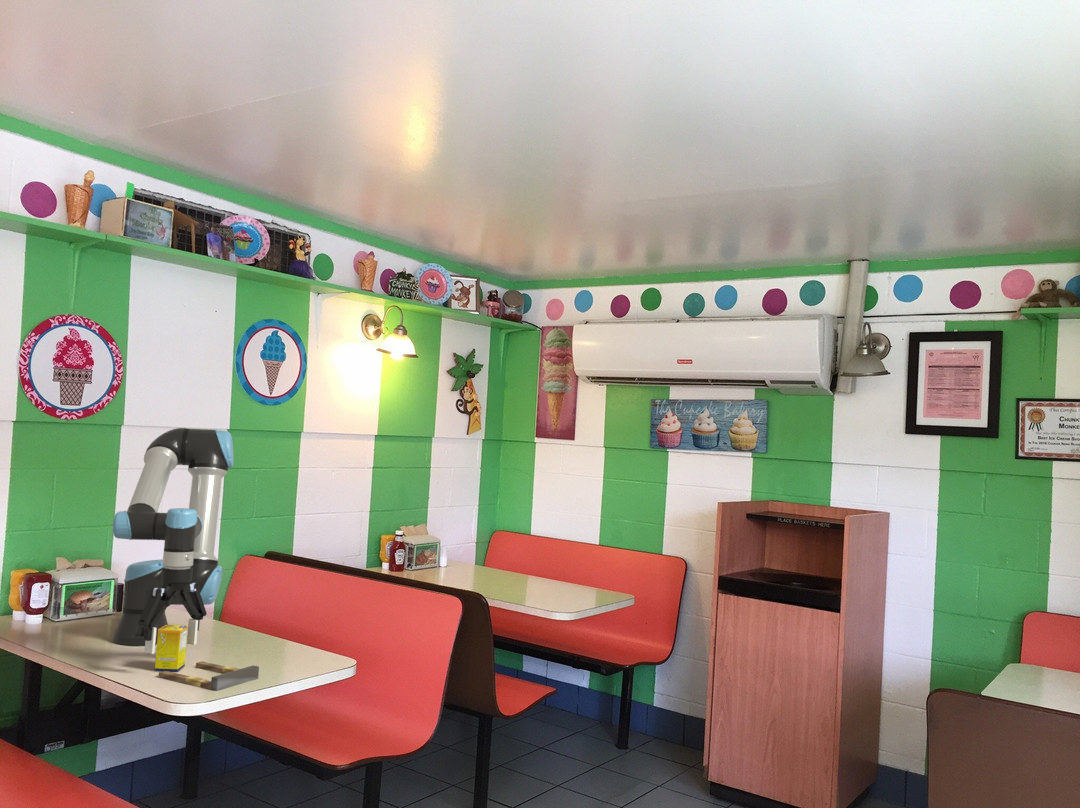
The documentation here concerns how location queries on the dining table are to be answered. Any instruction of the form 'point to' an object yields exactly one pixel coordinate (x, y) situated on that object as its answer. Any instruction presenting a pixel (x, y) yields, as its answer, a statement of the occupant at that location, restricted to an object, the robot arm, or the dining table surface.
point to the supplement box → (171, 648)
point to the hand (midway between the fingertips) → (171, 648)
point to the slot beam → (218, 682)
